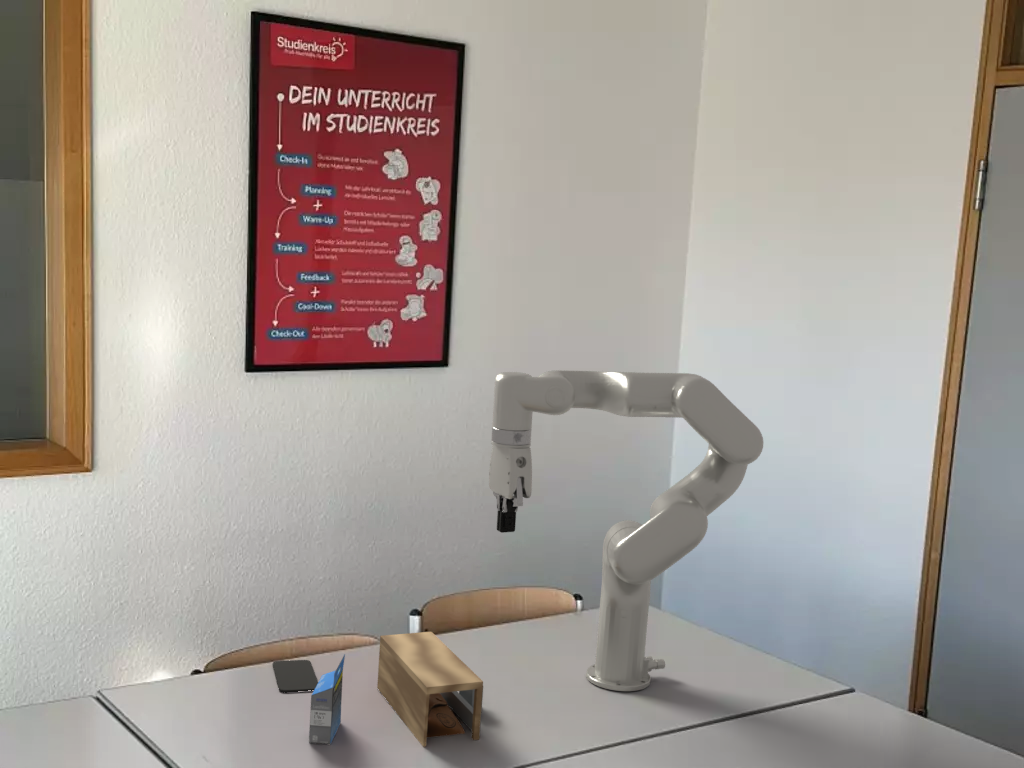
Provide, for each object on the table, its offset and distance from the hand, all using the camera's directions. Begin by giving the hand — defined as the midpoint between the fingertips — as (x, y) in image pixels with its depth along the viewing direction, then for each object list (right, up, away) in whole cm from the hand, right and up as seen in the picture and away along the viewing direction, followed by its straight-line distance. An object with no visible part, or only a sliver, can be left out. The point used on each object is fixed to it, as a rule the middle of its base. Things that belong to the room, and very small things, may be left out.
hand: (505, 531), depth 214 cm
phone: (-40, -27, -5) cm, 48 cm away
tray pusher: (-8, -30, -15) cm, 34 cm away
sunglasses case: (-13, -31, -18) cm, 38 cm away
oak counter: (-14, -30, -18) cm, 37 cm away
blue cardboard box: (-30, -30, -28) cm, 51 cm away
